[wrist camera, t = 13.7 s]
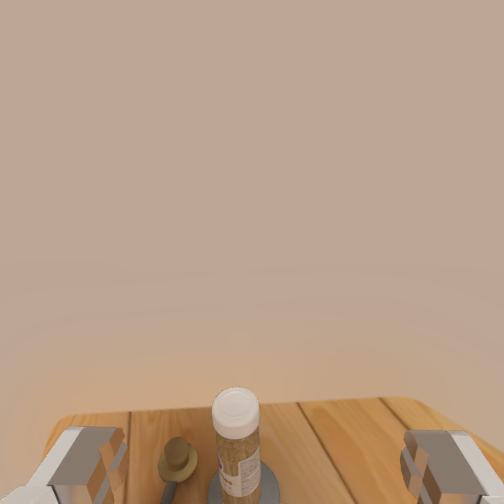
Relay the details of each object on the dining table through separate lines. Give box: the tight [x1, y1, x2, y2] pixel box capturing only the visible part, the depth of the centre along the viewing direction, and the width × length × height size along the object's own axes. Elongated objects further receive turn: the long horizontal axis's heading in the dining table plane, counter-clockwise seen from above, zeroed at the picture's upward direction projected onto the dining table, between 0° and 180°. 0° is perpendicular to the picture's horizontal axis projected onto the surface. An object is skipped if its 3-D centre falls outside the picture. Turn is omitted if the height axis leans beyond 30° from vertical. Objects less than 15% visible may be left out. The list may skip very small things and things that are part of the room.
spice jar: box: [212, 387, 262, 504], centre depth 31 cm, size 5×5×13 cm
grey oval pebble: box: [207, 461, 280, 504], centre depth 34 cm, size 8×8×1 cm
